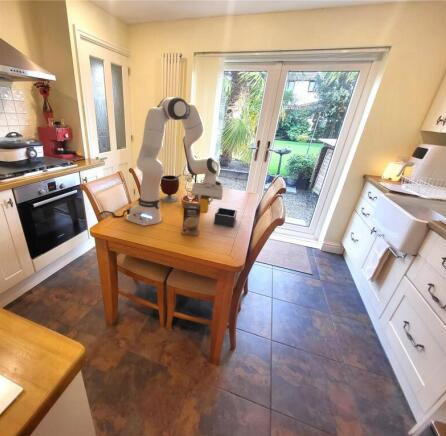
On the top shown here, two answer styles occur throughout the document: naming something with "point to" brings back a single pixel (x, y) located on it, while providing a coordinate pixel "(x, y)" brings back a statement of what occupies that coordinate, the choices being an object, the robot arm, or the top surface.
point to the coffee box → (191, 219)
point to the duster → (204, 204)
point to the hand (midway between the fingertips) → (204, 203)
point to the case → (225, 217)
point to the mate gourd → (169, 187)
